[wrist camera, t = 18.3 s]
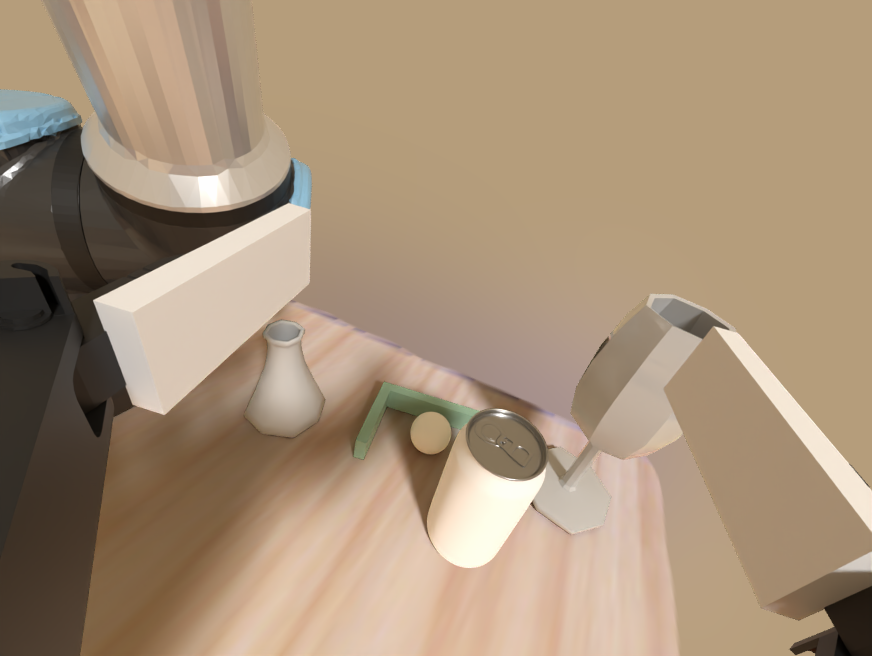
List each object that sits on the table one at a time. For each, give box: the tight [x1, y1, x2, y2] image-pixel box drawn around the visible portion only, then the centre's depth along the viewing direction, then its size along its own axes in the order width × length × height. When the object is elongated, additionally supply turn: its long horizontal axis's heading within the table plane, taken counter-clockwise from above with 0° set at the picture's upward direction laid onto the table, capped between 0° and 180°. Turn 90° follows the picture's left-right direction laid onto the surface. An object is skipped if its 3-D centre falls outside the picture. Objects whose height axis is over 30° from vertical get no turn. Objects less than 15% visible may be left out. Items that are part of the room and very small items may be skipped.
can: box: [427, 408, 548, 568], centre depth 28 cm, size 6×6×12 cm
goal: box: [353, 382, 480, 460], centre depth 37 cm, size 8×13×2 cm, turn 78°
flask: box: [244, 320, 325, 438], centre depth 35 cm, size 7×7×10 cm
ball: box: [410, 412, 451, 454], centre depth 36 cm, size 4×4×4 cm
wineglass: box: [532, 294, 736, 535], centre depth 31 cm, size 9×9×21 cm
